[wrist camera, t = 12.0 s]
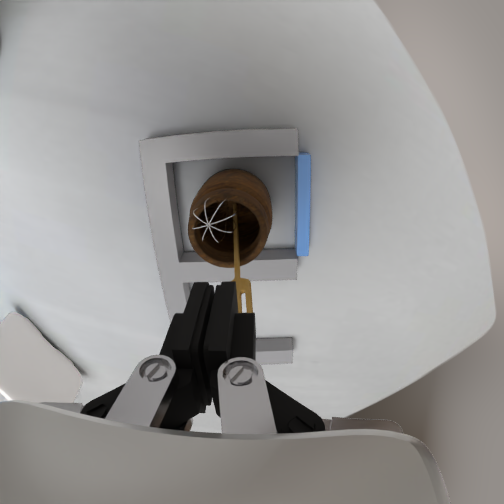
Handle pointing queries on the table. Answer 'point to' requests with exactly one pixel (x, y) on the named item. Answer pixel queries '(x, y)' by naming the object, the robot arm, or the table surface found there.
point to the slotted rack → (168, 226)
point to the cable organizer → (33, 365)
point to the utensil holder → (231, 223)
